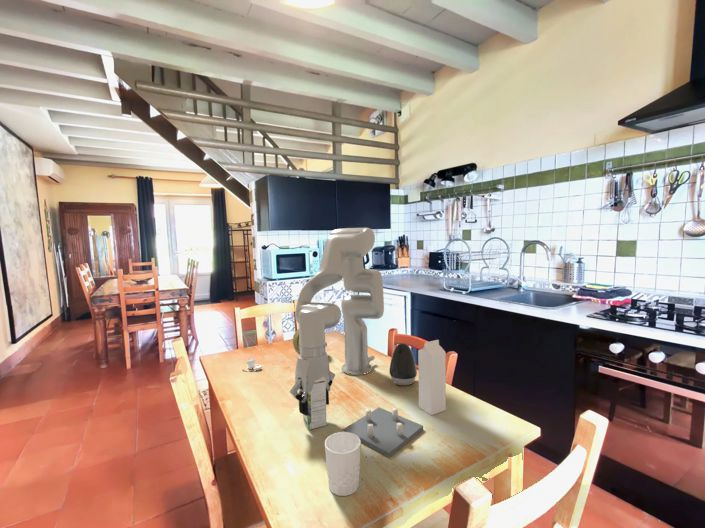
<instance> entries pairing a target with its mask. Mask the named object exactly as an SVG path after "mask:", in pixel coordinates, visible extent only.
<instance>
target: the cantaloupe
mask: <svg viewBox="0 0 705 528" xmlns="http://www.w3.org/2000/svg"><path fill="white" fill-rule="evenodd" d="M292 336H293V337H292V346H293V348H294V350H295V352H296V353H297V354H298V355H299V356H300V343H299V328H298V329H297V330H296V331H295V332H294V334H293V335H292Z"/></svg>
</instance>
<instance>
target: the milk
mask: <svg viewBox="0 0 705 528" xmlns="http://www.w3.org/2000/svg"><path fill="white" fill-rule="evenodd" d="M417 351H418V360H417V361H418V362H417V363H418V407H419V409H421V410H423V411H424V412H426V413H427V414H429V415H430V416H433V415H436V414H439V413H442V412H445V411H446V408H447V407H446V406H447V403H446V401H447V399H446V397H447V393H446V392H447V391H446V388H447V387H446V386H447V385H446V384H447V383H446V378H447V377H446V374H447V373H446V370H447V369H446V363H447V362H446V351H445V349H443V347H442V346H441V345H440V340H439V339H435V340H431V341H426V342H424V347H422V348H419V349H418V350H417Z"/></svg>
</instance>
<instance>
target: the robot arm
mask: <svg viewBox="0 0 705 528" xmlns="http://www.w3.org/2000/svg"><path fill="white" fill-rule="evenodd" d="M375 240H376V237H375V233H374V231H373V229H372V228H369V227H345V228H342V227H340V228H336V229H335V228H334V229H333V230H331V232H330V234H329V236H328V237H327V238H326V241H325V244H324V247H323V251H322V256H321V260H320V265H319V267H318V268H319V269H318V271H317V272H316V273H315V274H314V275H313V276H312V277H311V278H310V279H309V280H308V281H307V282H306V283H305V284H304V285H303V287H302V288H301V290H300V292H299V295H298V298H297V302H296V307H295V310H294V311H295V313H294V314H295V315H294V317H295V321H296V322H297V324H298V329H299V343H300V355H299V356H297V358H296V363H295V374H294V375H295V377H294V385H293V386H292V388H291V389H290V391H289V393H290V394H291V396H292V397H293V398H294V399H296V400H297V401H298V410H299V413H300V414H301V415H305V416H307V415H308V402H307V401H306V399H307V393H309V392H311V391H312V388H313V385H314V382H315V380H316V379H318V378H321V377H324V378H325V379H326V406H328V405H329V404H330V395H329V393H330V391H331V386H332V384H333V381H334V379H335V377H336V374H335V372H332V371H331V370H330V362H329V357H328V353H327V351H326V347H328V343H327V342H326V330H328V329H332V328H334V327H336V326H337V325H338V324H339V322H340V321H341V318H342V317H343V327H344V328H343V329H344V361H345V363H344V364H343V365H342V366H341V371H342V372H343V373H344V372H345V373H344V374H346V373H348V374H347V375H349V374H352V375H351V376H360V375H359V374H364V373H367V372H369V371H370V370H371V369H372V370H373V367H372V365H371V364H370V363H371V362H372V361H374V360H375V356H374V355H373V354H372V355H370V356H369V354H368V352H369V351H368V347H369V346H368V327H367V325H366V323H365V322H364V319H368V320H379V319H381V318H382V317H383V316H384V313H385V299H384V284H383V282H384V281H383V275H382V273H381V272H380V271H379V270H378V269H375V268H374V269H373V268H366V269H365V267H364V257H365V256H366V255H367V254H368V253H370V251H371V250H372V249H373V247H374V245H375V242H376V241H375ZM342 280H343V287H344V289H345V291H347V292H349V293H361V294H349V295H345V296H344V297H343V299H342V300H341V305H340V306H341V309H340V307H339V306H338V305H337V304H335V303H329V302H315V301H314V302H312V300H313V299H314V297H315V295H317V293H319V292H320V291H322V290H324V289H325V288H328V287H330V286H332V285H335V284H338V283H340V282H341V281H342ZM364 293H365V294H364ZM367 293H368V294H367ZM372 370H371V371H372ZM371 371H370V372H371ZM370 372H369V373H370ZM367 374H368V373H367ZM364 375H365V374H364ZM303 392H304V395H303Z"/></svg>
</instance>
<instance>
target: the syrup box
mask: <svg viewBox="0 0 705 528" xmlns="http://www.w3.org/2000/svg"><path fill="white" fill-rule="evenodd" d="M303 395H304V392H303V394H302V396H303ZM306 401H307V402H308V415H307V416H305V415H303V414H302V415H303V422H304V424H305V426H306V427H307V428H306V429H307V430H309V431H310V430H313V429H317V428H321V427H324V426H327V405H326V379H325V378H324V377H321V378H318V379H316V380H315V382H314V385H313V388H312V391H311V392H309V393H307V399H306Z"/></svg>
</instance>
